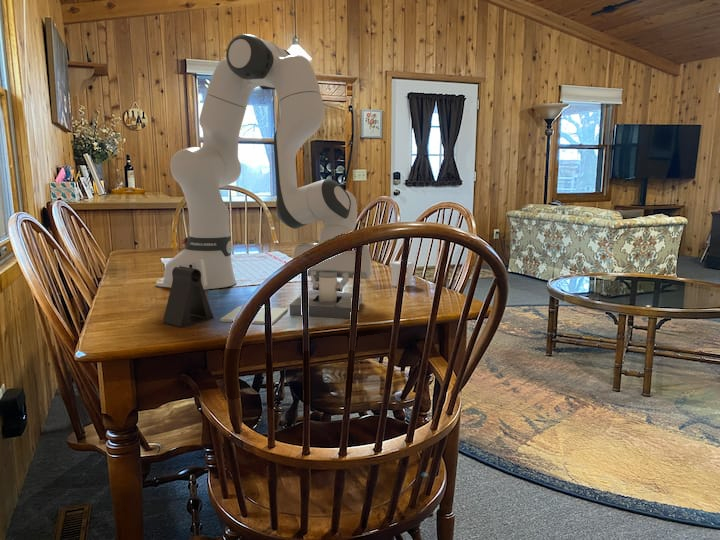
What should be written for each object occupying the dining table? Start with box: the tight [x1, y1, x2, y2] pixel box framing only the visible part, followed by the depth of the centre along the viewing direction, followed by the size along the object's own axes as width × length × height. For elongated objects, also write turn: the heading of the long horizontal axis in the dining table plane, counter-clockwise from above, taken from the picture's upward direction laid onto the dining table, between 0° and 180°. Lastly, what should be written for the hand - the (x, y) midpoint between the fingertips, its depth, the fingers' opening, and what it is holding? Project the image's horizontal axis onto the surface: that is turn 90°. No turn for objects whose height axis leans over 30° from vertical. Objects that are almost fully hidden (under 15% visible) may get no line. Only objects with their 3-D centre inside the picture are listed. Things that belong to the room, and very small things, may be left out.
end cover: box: [318, 271, 338, 303], centre depth 129 cm, size 4×4×9 cm
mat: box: [219, 305, 289, 326], centre depth 122 cm, size 12×12×1 cm
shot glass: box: [390, 260, 415, 288], centre depth 158 cm, size 7×7×7 cm
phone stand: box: [162, 266, 214, 329], centre depth 116 cm, size 9×6×12 cm, turn 147°
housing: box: [289, 290, 363, 319], centre depth 130 cm, size 15×15×2 cm
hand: (327, 289), depth 128 cm, fingers closed on end cover, 4 cm apart
